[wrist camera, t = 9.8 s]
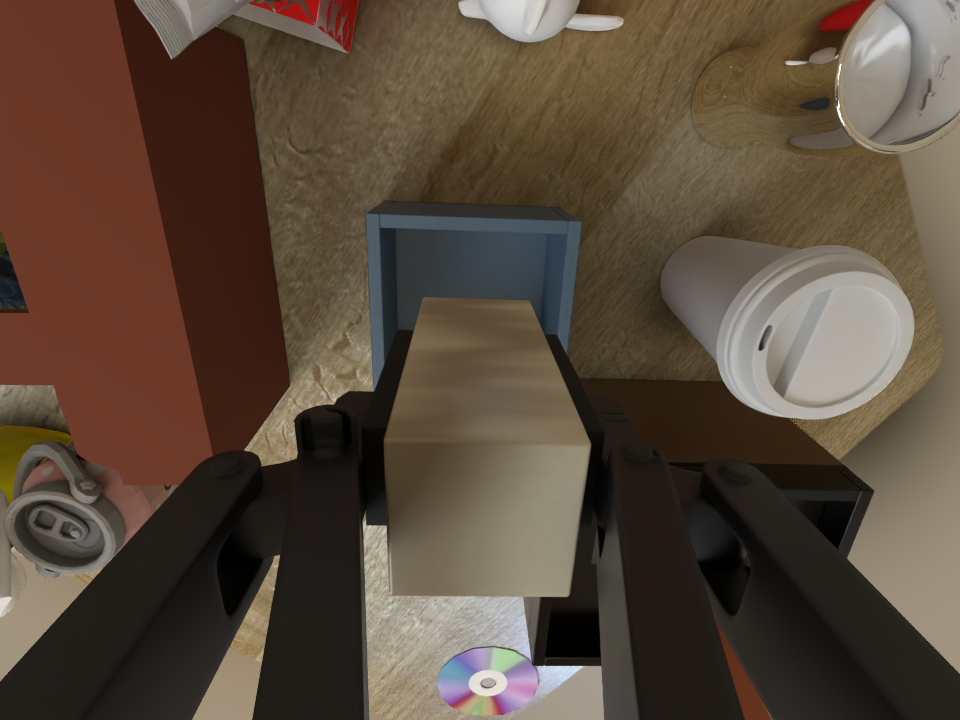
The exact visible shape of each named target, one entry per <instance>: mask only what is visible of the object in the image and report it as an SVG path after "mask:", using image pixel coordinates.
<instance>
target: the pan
mask: <svg viewBox="0 0 960 720" xmlns="http://www.w3.org/2000/svg"><path fill="white" fill-rule="evenodd" d="M579 380H580V382H581V384H582V386H583V388H584V390H585V392H586V394H587V395H596V396H609V397H610V398H611V399H613V400H614V401H616V402H617V403H618V404H620V406H621V408H622V409H623V411H624V413H625V415H626V416H627V418H628V419H629V423H631V424H632V426H633V428H634V429H635V431H636V433H637V434H638V436H639V438H640V439H641V441H642V442H644V443H647V444H650V445H652V446H654V447H656V448H658V449H659V450H660V451H662V452H663V453H664V455H665V456H666V458H667V460H668V464H669V465H670V466H673V467H677V468H681V469H686V470H690V471H695V472H700V473H702V472H703V468H704V464H705V462H706V461H708V460H709V459H711V458H718V457H724V458H734V459H736V460H741V461H744V462H746V463H747V464H749V465H752V466H754V467H755V468H757V469H758V470H759V471H761V472H762V473H763V474H764V475H765V476H766V477H767V478H768V479H769V480H770V481H771V482H772V483H773V484H774V485H775V486H776V487H777V488H778V489H779V490H780V491H781V492H782V493H783V494H784V495H785V496H786V497H787V498H788V499H789V500H790V501H791V502H792V503H793V504H794V505H795V506H796V507H797V508H798V509H799V510H800V512H801V513H802V514H803V515H804V516H805V517H806V518H807V519H808V520H809V521H810V522H811V523H812V524H813V525H814V526H815V527H816V528H817V529H818V530H819V531H820V532H821V533H822V534H823V535H824V536H825V537H826V538H827V539H828V540H829V541H830V542H831V543H832V544H833V545H834V546H835V547H836V548H837V549H838V550H839V551H840V552H841V553H842V554H843V555H844V556H845V557H846V558H847V557H848V554H849V552H850V550H851V547H852V545H853V542H854V540H855V537H856V534H857V532H858V530H859V527H860V525H861V523H862V520H863V518H864V515H865V513H866V510H867V508H868V506H869V503H870V501H871V498H872V496H873V493H874V490H873V489H871V487H869V486H868V485H867V484H866V483H865V482H863V481H862V480H861V479H860V478H859V477H857V476H856V475H855V474H854V473H853V472H851V471H850V470H849V469H848V468H847V467H846V466H845V465H843V464H842V463H841V462H840V461H839V460H837V459H836V458H835V457H834V456H833V455H831V454H830V453H829V452H828V451H827V450H825V449H824V448H823V447H822V446H821V445H819V444H818V443H817V442H816V441H815V440H813V439H812V438H811V437H810V436H809V435H807V434H806V433H805V432H804V431H803V430H801V429H800V428H799V427H798V426H797V425H795V424H794V423H793V422H792V421H791V420H789V419H788V418H785V417H779V416H773V415H769V414H766V413H763V412H760V411H758V410H755V409H753V408H751V407H749V406H747V405H745V404H744V403H742V402H741V401H740V400H738V399H737V398H736V397H735V396H734V395H733V394H732V393H731V392H730V391H729V389H728V388H727V386H726V385H725V383H724V382H701V381H660V380H620V379H580V378H579ZM597 525H598V521H597V518H596V515H595V512H594V509H593V515H592V521H591V528H579V534H578V541H577V548H576V555H575V562H574V569H573V576H572V583H571V590H570V595H569V596H567V597H523V599H524V606H525V614H526V622H527V630H528V638H529V645H530V653H531V661H532V666H544V665H545V666H602V665H601V645H600V625H599V605H598V585H597V565H596V564H591V562H592V556H593V550H594V543H595V537H596V531H597ZM746 556H747V557H748V554H747V553H746ZM748 559H749V558H748Z"/></svg>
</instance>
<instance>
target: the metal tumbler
mask: <svg viewBox="0 0 960 720" xmlns="http://www.w3.org/2000/svg"><path fill="white" fill-rule="evenodd" d="M691 112H692V118H693V122H694V125H695V127H696V129H697V131H698V133H699V134H700V136H701V137H702V138H703V139H704V140H705V141H707V142H708V143H710V144H711V145H713V146H716V147H719V148H725V149H732V148H739V147H743V146H746V145H749V144H752V143H754V142H758V143H761V144H764V145H766V146H769V147H772V148H775V149H778V150H781V151H784V152H788V153H792V154H796V155H800V156H807V157H820V158H846V157H859V156H870V155H878V154H900V153H906V152H910V151H914V150H917V149H920V148H923V147H925V146H927V145H929V144H931V143H933V142H935V141H937V140H938V139H940V138H942V137H943V136H944V135H946V134H947V133H949V132H950V131H951V130H952V129H954V128H955V127H956V126H957V125H958V124H959V123H960V0H834V1H832V2H830V3H827V4H825V5H823V6H821V7H819V8H816V9H815V10H813V11H811V12H809V13H808V14H806V15H804V16H803V17H801V18H800V19H798V20H796V21H795V22H793V23H792V24H790V25H789V26H787V27H786V28H785V29H783V30H782V31H780V32H779V33H778V34H776V35H775V36H774V37H772V38H771V39H770V40H768V41H767V42H766V43H764V44H763V45H762V46H760V47H739V48H735V49H732V50H729V51H727V52H725V53H723V54H721V55H720V56H718V57H717V58H716V59H715V60H713V61H712V62H711V63H710V64H709V65H708V66H707V68H706V69H705V70H704V71H703V73H702V74H701V76H700V78H699V79H698V81H697V84H696V86H695V89H694V92H693V96H692V103H691Z"/></svg>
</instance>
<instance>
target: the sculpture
mask: <svg viewBox="0 0 960 720" xmlns="http://www.w3.org/2000/svg"><path fill="white" fill-rule="evenodd" d="M8 506H9V504H8V500H7V498H6V496H5V494H4V492H3V491H2V490H1V488H0V618H1V617H2V616H4V615H5V614H7V613H8V612H9V611H10V610H11V609H12V608H13V607H14V606H15V604H16V603H17V600H18V598H19V594H20V591H22V590H23V588H24V587H25V585H26V581H27V577H26V572H25V570H24V568H23V566H22V564H21V563H20V561H19V560H18V559H17V558H16V556H15V555H14V554H13V553H12V552H11V541H10V540H9V539H8V537H7V535H6V531H5V528H4V524H3V521H4V515H5V510H6V509H7V508H8Z"/></svg>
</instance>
